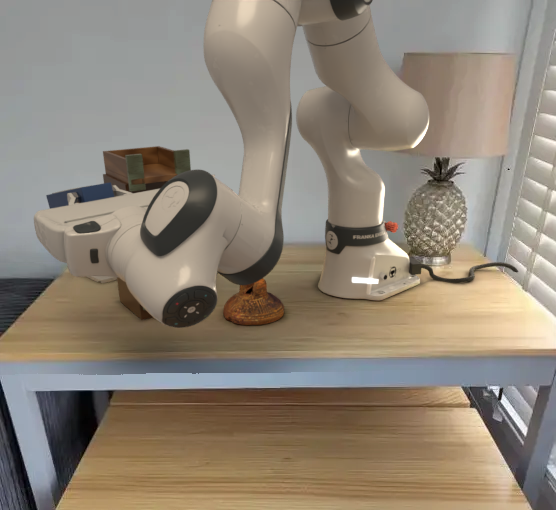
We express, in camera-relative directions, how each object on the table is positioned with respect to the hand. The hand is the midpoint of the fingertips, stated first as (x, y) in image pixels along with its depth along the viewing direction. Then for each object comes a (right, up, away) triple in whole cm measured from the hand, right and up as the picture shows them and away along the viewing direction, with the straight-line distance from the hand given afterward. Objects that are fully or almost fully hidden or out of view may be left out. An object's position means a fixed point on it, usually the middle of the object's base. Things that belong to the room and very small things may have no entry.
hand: (91, 193), depth 88 cm
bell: (+22, -15, +29) cm, 40 cm away
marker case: (-3, -1, +6) cm, 7 cm away
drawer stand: (+4, -12, +34) cm, 36 cm away
